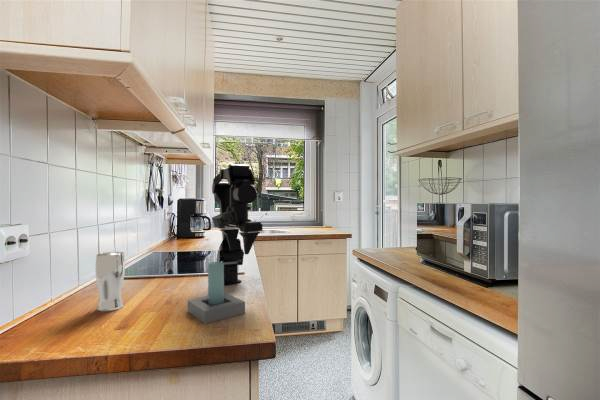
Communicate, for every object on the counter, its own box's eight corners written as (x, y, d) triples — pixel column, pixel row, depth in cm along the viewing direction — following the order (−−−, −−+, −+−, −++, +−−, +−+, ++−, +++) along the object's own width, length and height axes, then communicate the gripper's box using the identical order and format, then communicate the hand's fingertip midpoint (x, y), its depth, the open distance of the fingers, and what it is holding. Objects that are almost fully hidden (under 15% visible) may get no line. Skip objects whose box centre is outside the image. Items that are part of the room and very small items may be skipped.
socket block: (187, 311, 85) (187, 300, 85) (225, 302, 92) (225, 292, 92) (205, 323, 77) (205, 311, 77) (245, 313, 84) (245, 301, 84)
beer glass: (91, 313, 84) (91, 256, 84) (100, 305, 91) (100, 252, 91) (121, 310, 86) (120, 255, 86) (127, 302, 93) (127, 251, 92)
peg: (205, 312, 85) (205, 263, 85) (219, 308, 87) (219, 261, 87) (212, 316, 82) (212, 265, 82) (226, 312, 84) (226, 263, 84)
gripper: (202, 203, 104) (202, 251, 104) (230, 204, 90) (230, 259, 90) (233, 203, 111) (233, 248, 111) (263, 203, 97) (263, 255, 97)
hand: (239, 252), depth 102 cm, fingers open, 9 cm apart
